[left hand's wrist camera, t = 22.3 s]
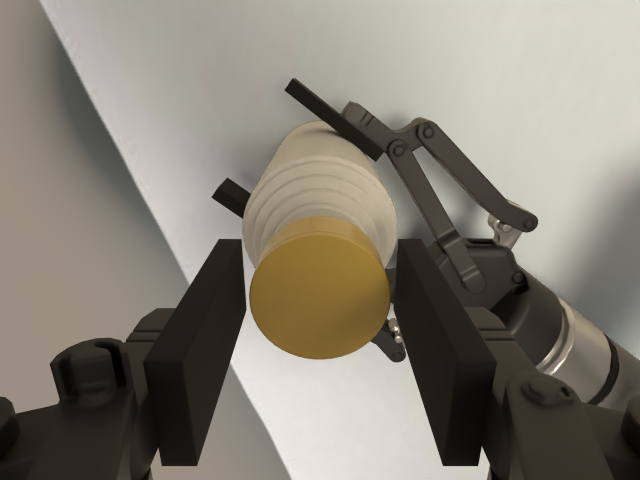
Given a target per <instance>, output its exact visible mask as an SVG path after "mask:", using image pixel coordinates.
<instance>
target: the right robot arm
mask: <svg viewBox="0 0 640 480" xmlns="http://www.w3.org/2000/svg"><path fill="white" fill-rule="evenodd" d="M285 91H286V92H287V93H289V94H290V95H291V96H292V97H294V98H295V99H296V100H298V101H299V102H300V103H301V104H303V105H304V106H305V107H306V108H308V109H309V110H310V111H312V112H313V113H314V114H315V115H317V116H318V117H319V118H321V119H322V120H323V121H324V122H326V123H327V124H328V125H329V126H331V127H332V128H333V129H335V130H336V131H337V132H338V133H340V134H341V135H342V136H343V137H345V138H346V139H347V140H349V141H350V142H351V143H352V144H354V145H355V146H356V147H358V148H359V149H360V150H361V151H363V152H364V153H365V154H366V155H368V156H369V157H370V158H372V159H373V160H374V161H375V162H376V161H377V160H378V159H379V157H380V156H381V155H382V154H383V152H385V153H386V154H387V155H388V157H389V159H390V161H391V162H392V164H393V166H394V167H395V169H396V171H397V173H398V174H399V176H400V178H401V179H402V181H403V183H404V185H405V186H406V188H407V190H408V191H409V193H410V195H411V197H412V198H413V200H414V202H415V203H416V205H417V207H418V209H419V210H420V212H421V214H422V215H423V217H424V219H425V221H426V222H427V224H428V226H429V228H430V230H431V231H432V233H433V235H434V237H435V238H436V240H437V242H436V241H434V242H433V244H432V245H431V246H430V247H429V248H428V249H427V250H428V251H429V253H430V255H431V256H432V258H433V259H434V261H435V263H436V264H437V266H438V267H439V269H440V271H441V272H442V274H443V275H444V277H445V279H446V280H447V282H448V283H449V285H450V287H451V288H452V290H453V291H454V293H455V295H456V296H457V298H458V299H459V301H460V303H461V304H462V306H463V307H484V308H486V309H487V310H489V311H490V312H492V313H493V314H495V315H496V316H498V317H499V319H500V320H501V321H502V323H503V324H504V325H505V327H506V328H507V331H509V332H510V333H511V335H512V336H513V337H514V341H516V342H517V343H518V344H519V346H520V347H521V348H522V350H523V351H524V352H525V354H526V355H527V356H528V358H529V359H530V360H531V362H532V363H533V364H534V366H535V367H536V368H537V370H538V371H539V372H540V373H544V374H548V375H551V376H553V377H555V378H557V379H559V380H561V381H563V382H564V383H566V384H567V385H568V386H569V387H571V388H572V389H573V390H574V391H575V392H576V394H577V395H578V397H579V398H580V400H581V402H583V403H587V404H590V405H595V406H599V407H604V408H608V409H613V410H618V411H622V412H625V410H626V407H627V405H628V402H629V400H630V399H632V398H633V397H634V396H636V395H640V361H639V360H638V359H637V358H635V357H634V356H632V355H631V354H630V353H628V352H627V351H626V350H624V349H623V348H622V347H620V346H619V345H618V344H616V343H615V342H614V341H612V340H611V339H610V338H608V337H607V336H606V335H605V334H604V333H603V332H602V331H601V330H600V329H599V328H597V327H596V326H595V325H594V324H592V323H591V322H590V321H589V320H587V319H586V318H585V317H584V316H582V315H581V314H580V313H578V312H577V311H576V310H575V309H573V308H572V307H571V306H570V305H568V304H567V303H566V302H564V301H563V300H561V299H560V298H558V297H557V296H556V295H555V294H554V293H553V292H552V291H551V290H549V289H548V288H547V287H546V286H544V285H543V284H542V283H541V282H539V281H538V280H537V279H535V278H534V277H533V276H532V275H530V274H529V273H528V272H527V271H525V270H524V269H523V268H522V267H520V266H519V265H518V264H517V263H516V261H515V258H514V254H513V252H512V251H511V249H512V247H513V246H514V244H515V243H516V241H517V240H518V238H519V237H520V235H521V234H522V232H526V233H527V232H531V231H533V230H534V229H535V228H536V227H537V225H538V219H537V217H536V216H535V215H533V214H532V213H530V212H529V211H527V210H525V209H524V208H522V207H521V206H519V205H518V204H516V203H514V202H512V201H509V200H507V199H505V198H504V197H503V196H502V195H501V194H500V192H499V191H498V190H497V189H496V188H495V187H494V186H493V185H492V184H491V183H490V182H489V181H488V179H487V178H486V177H485V176H484V175H483V174H482V173H481V172H480V171H479V170H478V169H477V168H476V166H475V165H474V164H473V163H472V162H471V161H470V160H469V159H468V158H467V157H466V156H465V155H464V154H463V152H462V151H461V150H460V149H459V148H458V147H457V146H456V145H455V144H454V143H453V142H452V141H451V139H450V138H449V137H448V136H447V135H446V134H445V133H444V132H443V131H442V130H441V129H440V128H439V126H438V125H437V124H435V123H434V122H432V121H430V120H427V119H425V118H420V117H419V118H415V119H414V120H413V121H412V122H411V123H410V124H409V125H407V126H406V127H404V128H402V129H400V130H391V129H389V128H388V127H387V126H385V125H384V124H383V123H382V122H381V121H379V120H378V119H377V118H376V117H374V116H373V115H372V114H371V113H369V112H368V111H367V110H366V109H365V108H363V107H362V106H361V105H360V104H358V103H354V102H351V101H350V102H349V103H348V104H347V106H346V107H345V108H344V110H343V111H342V112H341V114H339V113H338V112H337V111H336V110H334V109H333V108H332V107H331V106H329V105H328V104H327V103H325V102H324V101H323V100H322V99H320V98H319V97H318V96H317V95H315V94H314V93H313V92H312V91H310V90H309V89H308V88H307V87H305V86H304V85H303V84H302V83H300V82H299V81H298V80H297V79H295V78H294V79H292V80H291V81H290V83H289V84H288V86H287V87H286V89H285ZM420 146H423V147H424V148H425V149H426V150H427V151H428V152H429V153H430V154H431V155H432V156H433V157H434V158H435V159H436V160H437V161H438V162H439V163H440V165H441V166H442V167H443V168H444V169H445V170H446V171H447V172H448V173H449V174H450V175H451V176H452V177H453V178H454V179H455V180H456V181H457V182H458V183H459V184H460V185H461V187H462V188H463V189H464V190H465V191H466V192H467V193H468V194H469V195H470V196H471V197H472V198H473V199H474V200H475V201H476V202H477V203H478V204H479V205H480V206H481V207H482V208H484V209H485V210H486V211H487V212H489V213H490V214H489V216H488V225H489V226H490V227H491V228H492V229H493V230H494V233H495V234H494V238H493V239H475V238H461V237H460V235H459V234H458V232H457V231H456V229H455V228H454V226H453V224H452V222H451V220H450V219H449V217H448V215H447V213H446V212H445V210H444V208H443V206H442V204H441V203H440V201H439V199H438V197H437V195H436V194H435V192H434V190H433V188H432V187H431V185H430V183H429V181H428V179H427V178H426V176H425V174H424V172H423V171H422V169H421V167H420V165H419V163H418V162H417V160H416V158H415V156H414V154H413V153H412V151H414V150H416V149H417V148H419V147H420ZM250 196H251V194H250V193H249V192H247V191H246V190H244V189H243V188H242V187H240V186H239V185H237V184H236V183H235V182H233V181H232V180H230V179H229V178H227V179H226V180H225V181H224V182H223V183H222V184H221V185H220V186H219V187H218V189H217V190H216V191H215V193H214V194H213V196H212V198H213V199H214V200H216V201H217V202H219V203H220V204H222V205H223V206H225V207H226V208H228V209H229V210H231V211H232V212H233V213H235V214H236V215H238V216H239V217H241V218H242V219H243V217H244V212H245V208H246V205H247V202H248V200H249V198H250ZM384 270H385V272H386V275H387V278H388V282H389V286H390V294H391V300H390V302H391V303H392V304H394V295H395V282H396V269H395V268H392V269H386V268H385V269H384ZM371 342H373V343H374V344H376V345H377V346H378V347H379V348H380V349H381V350H382V351H383V352H384V353H385V354H386V355H387V357H388V358H389V359H390V360H391V361H393V362H401V361H403V360H404V359H405V357H406V352H405V349H406V347H405V344H404V341H403V338H402V335H401V332H400V328H399V325H398V322H397V320H396V319H395V318H391V319H390V320H388V319H387V318H386V320H385V322H384V324H383V326H382V328H381V329H380V330H379V332H378V333H377V334H376V336H375V337H374V338H373V339H372V340H371Z"/></svg>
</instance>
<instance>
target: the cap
mask: <svg viewBox="0 0 640 480" xmlns="http://www.w3.org/2000/svg"><path fill="white" fill-rule="evenodd" d="M249 299H250V307H251V312H252V315H253V318H254V320H255V322H256V324H257V326H258V328H259V329H260V330H261V332H262V333H263V334H264V335H265V336H266V338H267V339H268V340H269V341H271V342H272V343H273V344H274V345H276V346H277V347H279V348H280V349H282V350H284V351H286V352H288V353H290V354H293V355H296V356H299V357H303V358H308V359H332V358H337V357H341V356H344V355H347V354H350V353H352V352H354V351H356V350H358V349H360V348H361V347H363V346H364V345H366V344H367V343H368V342H369V341H371V340H372V339H373V338H374V337H375V336H376V334H377V333H378V332H379V330H380V329H381V328H382V326H383V324H384V322H385V320H386V318H387V315H388V312H389V308H390V300H391V294H390V286H389V282H388V278H387V275H386V272H385V270H384V267H383V264H382V261H381V258H380V255H379V252H378V250H377V248H376V246H375V245H374V243H373V242H372V240H371V239H370V238H369V237H368V236H367V235H366V234H365V233H364V232H363V231H362V230H361V229H359V228H358V227H357V226H355V225H353V224H351V223H349V222H347V221H345V220H342V219H339V218H335V217H329V216H311V217H305V218H301V219H298V220H295V221H293V222H291V223H289V224H287V225H285V226H284V227H282V228H281V229H279V230H278V231H277V232H276V233H275V234H274V235H273V236H272V237H271V238H270V239H269V240H268V242H267V243H266V245H265V246H264V248H263V250H262V252H261V255H260V258H259V261H258V264H257V267H256V269H255V272H254V276H253V278H252V282H251V286H250V294H249Z"/></svg>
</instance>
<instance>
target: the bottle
mask: <svg viewBox="0 0 640 480" xmlns="http://www.w3.org/2000/svg"><path fill="white" fill-rule="evenodd" d="M311 216H329V217H335V218H339V219H342V220H345V221H347V222H349V223H351V224H353V225H355V226H357V227H358V228H359V229H361V230H362V231H363V232H364V233H365V234H366V235H367V236H368V237H369V238H370V239H371V240H372V242H373V243H374V245H375V246H376V248H377V250H378V252H379V255H380V258H381V261H382V264H383V267H384V269H385V267H386V266H387V264H388V262H389V260H390V258H391V256H392V254H393V251H394V248H395V245H396V239H397V216H396V212H395V208H394V205H393V202H392V200H391V198H390V196H389V194H388V192H387V191H386V189H385V187H384V185H383V184H382V182H381V180H380V179H379V177H378V175H377V173H376V172H375V170H374V168H373V167H372V165H371V163H370V162H369V160H368V158H367V156H366V155H365V153H364V152H363V151H361V150H360V149H359V148H358V147H356V146H355V145H354V144H352V143H351V142H350V141H349V140H347V139H346V138H345V137H343V136H342V135H341V134H340V133H338V132H337V131H336V130H335V129H333V128H332V127H331V126H329V125H328V124H327V123H326V122H324V121H314V122H309V123H306V124H303V125H301V126H299V127H297V128H295V129H294V130H293V131H291V132H290V133H289V134H288V135H287V136H286V137H285V139H284V140H283V141H282V143H281V145H280V146H279V148H278V150H277V151H276V153H275V155H274V156H273V158H272V160H271V162H270V163H269V165H268V167H267V168H266V170H265V172H264V173H263V175H262V177H261V179H260V180H259V182H258V184H257V185H256V187H255V189H254V191H253V192H252V194H251V196H250V198H249V200H248V202H247V205H246V208H245V212H244V217H243V239H244V244H245V248H246V251H247V253H248V256H249V258H250V260H251V262H252V264H253V266H254V267H255V269H256V267H257V264H258V261H259V258H260V255H261V252H262V250H263V248H264V246H265V245H266V243H267V242H268V240H269V239H270V238H271V237H272V236H273V235H274V234H275V233H276V232H277V231H278V230H279V229H281V228H282V227H284V226H285V225H287V224H289V223H291V222H293V221H295V220H298V219H301V218H305V217H311Z"/></svg>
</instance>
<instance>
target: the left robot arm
mask: <svg viewBox="0 0 640 480" xmlns="http://www.w3.org/2000/svg"><path fill="white" fill-rule="evenodd" d="M245 313H246V295H245V282H244V268H243V254H242V241H241V239H219V240H218V242H217V243H216V245H215V246H214V248H213V250H212V251H211V253H210V255H209V256H208V258H207V259H206V261H205V263H204V264H203V266H202V267H201V269H200V271H199V272H198V274H197V275H196V277H195V279H194V280H193V282H192V283H191V285H190V287H189V288H188V290H187V291H186V293H185V295H184V296H183V298H182V300H181V301H180V303H179V304H178V306H177V308H157V309H155V310H154V311H152V312H151V313H149V314H148V315H146V316H145V317H143V318H142V319H141V320H140V322H139V323H138V325H137V326H136V327H135V328H134V330H133V332H132V333H131V334H130V335H129V337H128V338H127V339H126V342H125V343H123V342H122V341H120V340H117V339H113V338H96V339H92V340H88V341H83V342H80V343H78V344H76V345H73V346H71V347H69V348H67V349H66V350H64V351H63V352H61V353H60V354H58V355H57V356H56V357H55V358H54V360H53V361H52V362H51V363H50V367H51V370H52V373H53V377H54V381H55V384H56V388H57V391H58V395H59V398H60V400H59V403H58V404H56V405H52V406H49V407H44V408H40V409H35V410H31V411H26V412H22V413H17V414H16V413H15V410H14V408H13V405H12V402H10V401H9V400H8V399H7V398H5V397H0V480H153V479H152V473H151V467H150V465H151V463H152V461H153V458H154V456H155V454H156V451H157V449H158V447H159V452H160V458H161V463H162V466H197V464H198V461H199V458H200V455H201V452H202V448H203V445H204V442H205V439H206V436H207V433H208V429H209V426H210V423H211V420H212V417H213V413H214V410H215V407H216V404H217V401H218V398H219V395H220V392H221V388H222V385H223V382H224V379H225V376H226V373H227V369H228V366H229V363H230V360H231V357H232V354H233V351H234V347H235V344H236V341H237V338H238V335H239V332H240V328H241V325H242V322H243V319H244V316H245ZM394 313H395V316H396V319H397V322H398V325H399V328H400V332H401V335H402V338H403V341H404V344H405V347H406V351H407V354H408V357H409V360H410V363H411V366H412V369H413V373H414V376H415V379H416V382H417V385H418V388H419V392H420V395H421V398H422V401H423V404H424V407H425V411H426V414H427V417H428V420H429V423H430V426H431V430H432V433H433V436H434V439H435V442H436V445H437V449H438V452H439V455H440V458H441V461H442V464H443V466H478V463H479V458H480V453H481V447H483V450H484V452H485V454H486V456H487V459H488V461H489V463H490V467H489V472H488V477H487V480H640V395H636V396H634V397H633V398H632V399H630V400H629V402H628V405H627V407H626V410H625V412H622V411H618V410H613V409H608V408H604V407H599V406H595V405H590V404H587V403H583V402H581V400H580V398H579V397H578V395H577V394H576V392H575V391H574V390H573V389H572V388H571V387H569V386H568V385H567V384H566V383H564V382H563V381H561V380H559V379H557V378H555V377H553V376H551V375H548V374H544V373H540V372H539V371H538V370H537V368H536V367H535V366H534V364H533V363H532V362H531V360H530V359H529V358H528V356H527V355H526V354H525V352H524V351H523V350H522V348H521V347H520V346H519V344H518V343H517V342H516V341H514V337H513V336H512V335H511V333H510V332H509V331H507V328H506V327H505V325H504V324H503V323H502V321H501V320H500V319H499V317H498V316H496V315H495V314H493V313H492V312H490V311H489V310H487V309H486V308H484V307H463V306H462V304H461V303H460V301H459V299H458V298H457V296H456V295H455V293H454V291H453V290H452V288H451V287H450V285H449V283H448V282H447V280H446V279H445V277H444V275H443V274H442V272H441V271H440V269H439V267H438V266H437V264H436V263H435V261H434V259H433V258H432V256H431V255H430V253H429V251H428V250H427V248H426V246H425V245H424V243H423V242H422V240H421V239H399V240H398V254H397V268H396V282H395V295H394Z"/></svg>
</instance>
